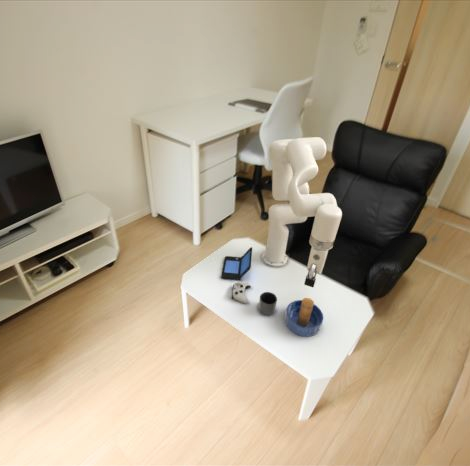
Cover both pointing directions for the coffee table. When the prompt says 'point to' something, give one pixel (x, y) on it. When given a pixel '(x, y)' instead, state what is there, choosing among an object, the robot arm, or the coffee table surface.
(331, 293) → the coffee table surface
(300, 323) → the dowel
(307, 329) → the bowl
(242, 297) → the gaming controller
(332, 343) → the coffee table surface
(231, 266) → the game console
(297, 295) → the coffee table surface
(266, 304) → the cup
